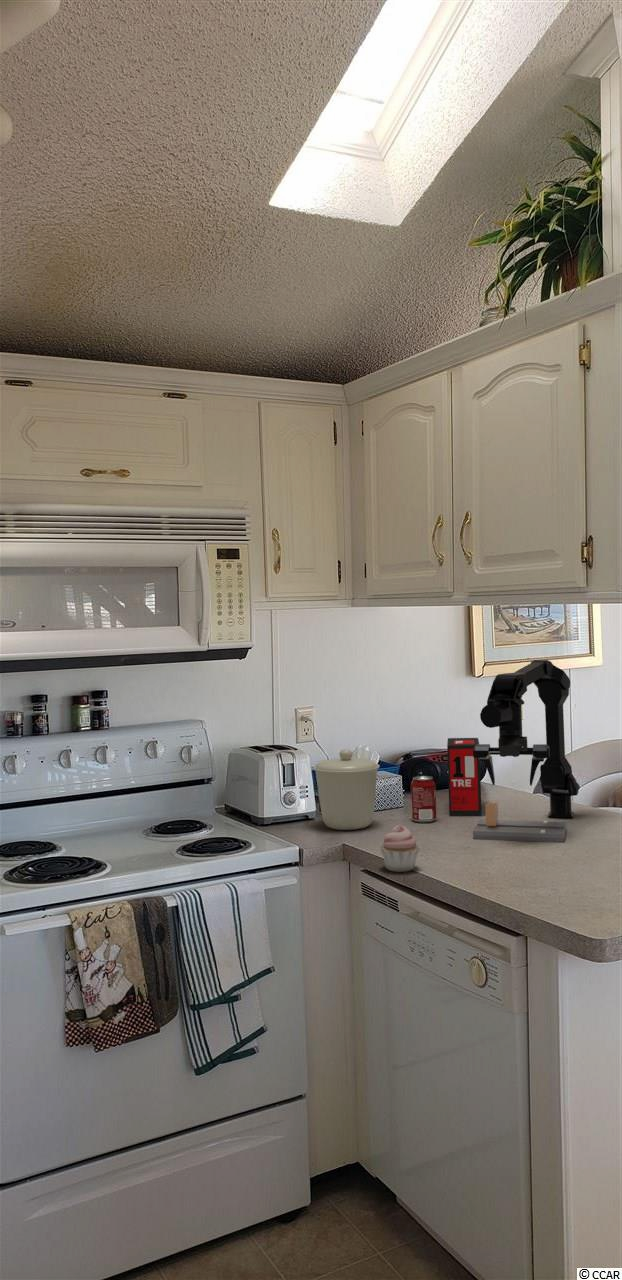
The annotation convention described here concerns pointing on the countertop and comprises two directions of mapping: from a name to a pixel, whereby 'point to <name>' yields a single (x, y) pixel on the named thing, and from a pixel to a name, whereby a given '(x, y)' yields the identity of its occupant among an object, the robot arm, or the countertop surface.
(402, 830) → the cupcake
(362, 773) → the canister
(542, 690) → the robot arm
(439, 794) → the countertop surface
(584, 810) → the countertop surface
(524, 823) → the console
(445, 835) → the countertop surface
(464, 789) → the cleaning product box
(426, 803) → the soda can
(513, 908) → the countertop surface
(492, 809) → the tan rectangular block
